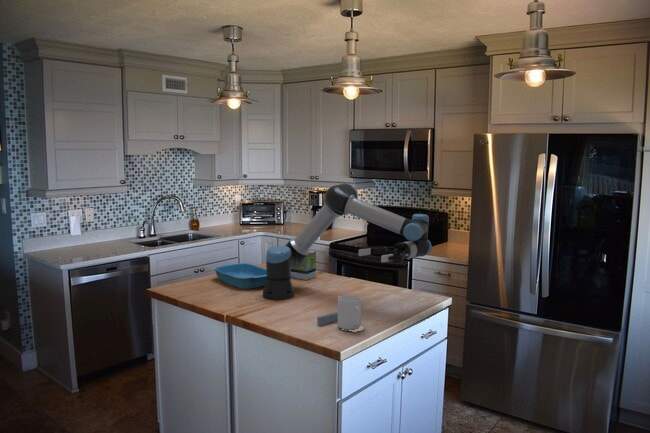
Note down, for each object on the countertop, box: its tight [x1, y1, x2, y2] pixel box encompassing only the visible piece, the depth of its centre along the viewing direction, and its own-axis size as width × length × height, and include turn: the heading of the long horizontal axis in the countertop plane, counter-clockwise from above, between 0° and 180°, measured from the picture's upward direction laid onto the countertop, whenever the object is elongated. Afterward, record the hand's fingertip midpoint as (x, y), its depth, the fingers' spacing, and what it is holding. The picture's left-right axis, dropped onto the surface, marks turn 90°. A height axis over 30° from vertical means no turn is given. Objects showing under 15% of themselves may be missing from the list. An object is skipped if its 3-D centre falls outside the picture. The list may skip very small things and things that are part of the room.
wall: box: [316, 311, 338, 327], centre depth 216 cm, size 18×2×4 cm, turn 130°
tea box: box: [291, 250, 317, 281], centre depth 287 cm, size 15×10×15 cm
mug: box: [337, 294, 363, 330], centre depth 207 cm, size 10×12×12 cm
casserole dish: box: [214, 262, 266, 290], centre depth 275 cm, size 37×22×7 cm, turn 40°
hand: (370, 255), depth 218 cm, fingers open, 13 cm apart
